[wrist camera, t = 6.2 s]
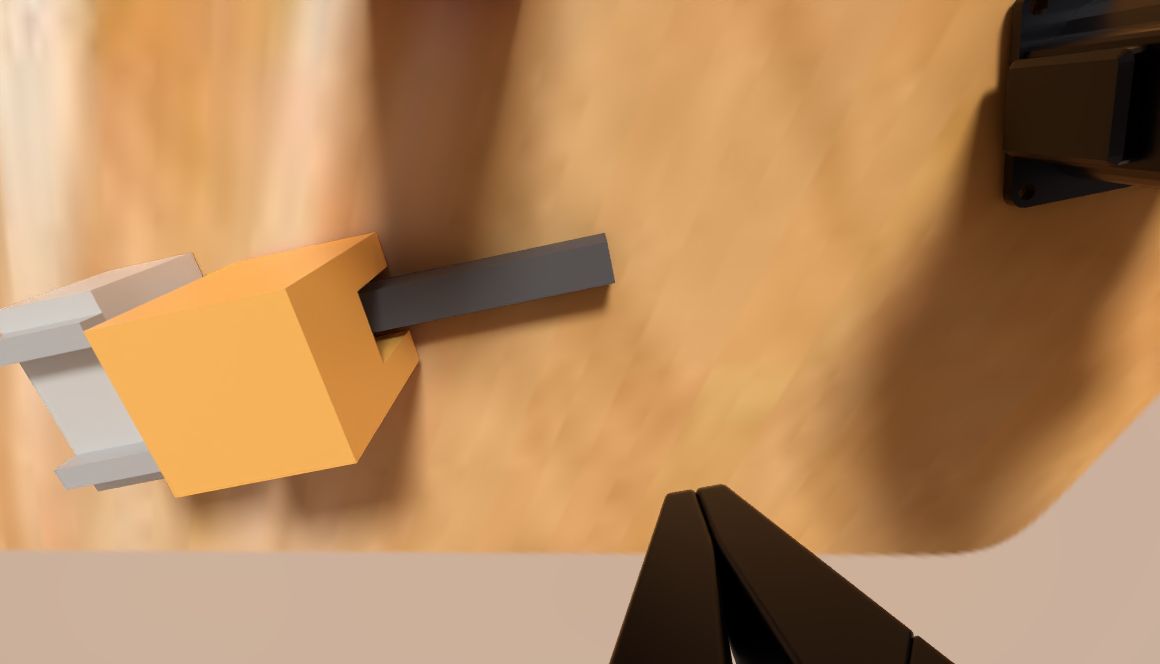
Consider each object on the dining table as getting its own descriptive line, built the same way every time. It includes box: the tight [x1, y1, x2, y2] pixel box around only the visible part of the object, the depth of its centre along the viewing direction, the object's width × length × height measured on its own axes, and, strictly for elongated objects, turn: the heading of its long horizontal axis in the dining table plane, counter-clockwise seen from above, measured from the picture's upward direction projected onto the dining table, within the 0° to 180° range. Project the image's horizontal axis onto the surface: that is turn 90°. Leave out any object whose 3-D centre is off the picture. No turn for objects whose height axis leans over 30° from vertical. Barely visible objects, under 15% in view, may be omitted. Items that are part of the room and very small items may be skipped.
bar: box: [357, 233, 615, 333], centre depth 20 cm, size 17×1×1 cm, turn 102°
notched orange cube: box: [83, 232, 419, 498], centre depth 17 cm, size 5×5×7 cm
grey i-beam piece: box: [0, 253, 203, 491], centre depth 19 cm, size 3×6×5 cm, turn 12°
